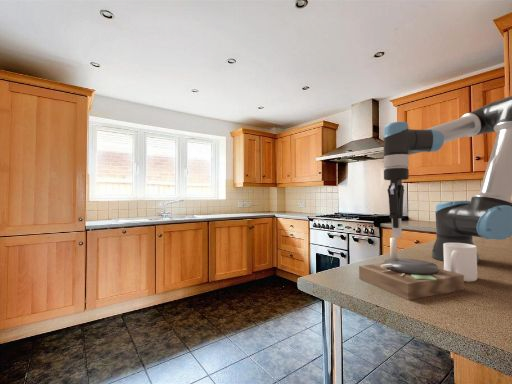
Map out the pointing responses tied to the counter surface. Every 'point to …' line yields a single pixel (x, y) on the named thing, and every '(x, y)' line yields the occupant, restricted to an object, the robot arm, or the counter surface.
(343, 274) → the counter surface
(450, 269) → the mug
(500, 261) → the counter surface
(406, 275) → the board
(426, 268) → the gray pegged oval disc
